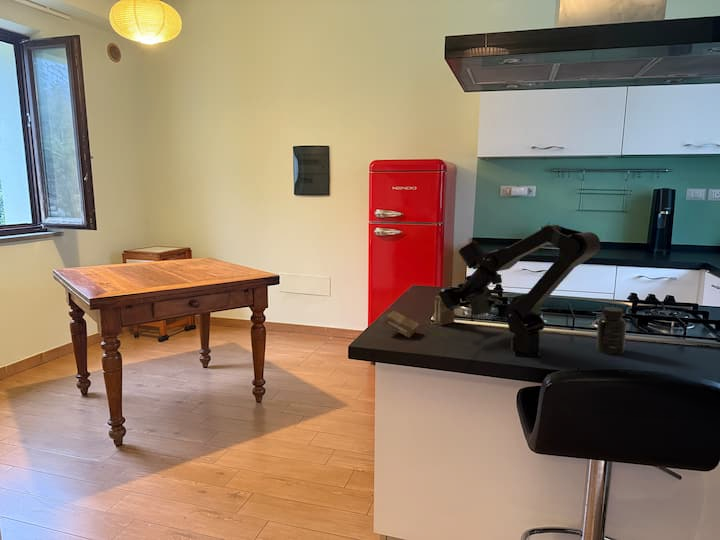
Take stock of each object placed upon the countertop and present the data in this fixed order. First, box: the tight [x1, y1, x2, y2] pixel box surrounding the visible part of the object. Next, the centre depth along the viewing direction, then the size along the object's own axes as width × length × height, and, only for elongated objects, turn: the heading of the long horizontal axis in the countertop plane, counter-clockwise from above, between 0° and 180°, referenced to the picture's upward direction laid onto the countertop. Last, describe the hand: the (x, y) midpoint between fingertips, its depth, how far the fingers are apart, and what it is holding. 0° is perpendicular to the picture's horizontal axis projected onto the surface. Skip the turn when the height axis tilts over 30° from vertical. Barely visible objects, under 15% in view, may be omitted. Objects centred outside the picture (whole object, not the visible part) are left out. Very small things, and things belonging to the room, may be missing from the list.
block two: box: [433, 295, 455, 326], centre depth 155 cm, size 3×6×9 cm, turn 126°
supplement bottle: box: [596, 306, 627, 356], centre depth 130 cm, size 7×7×12 cm
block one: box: [383, 310, 420, 339], centre depth 145 cm, size 3×6×9 cm
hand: (451, 309), depth 152 cm, fingers closed
